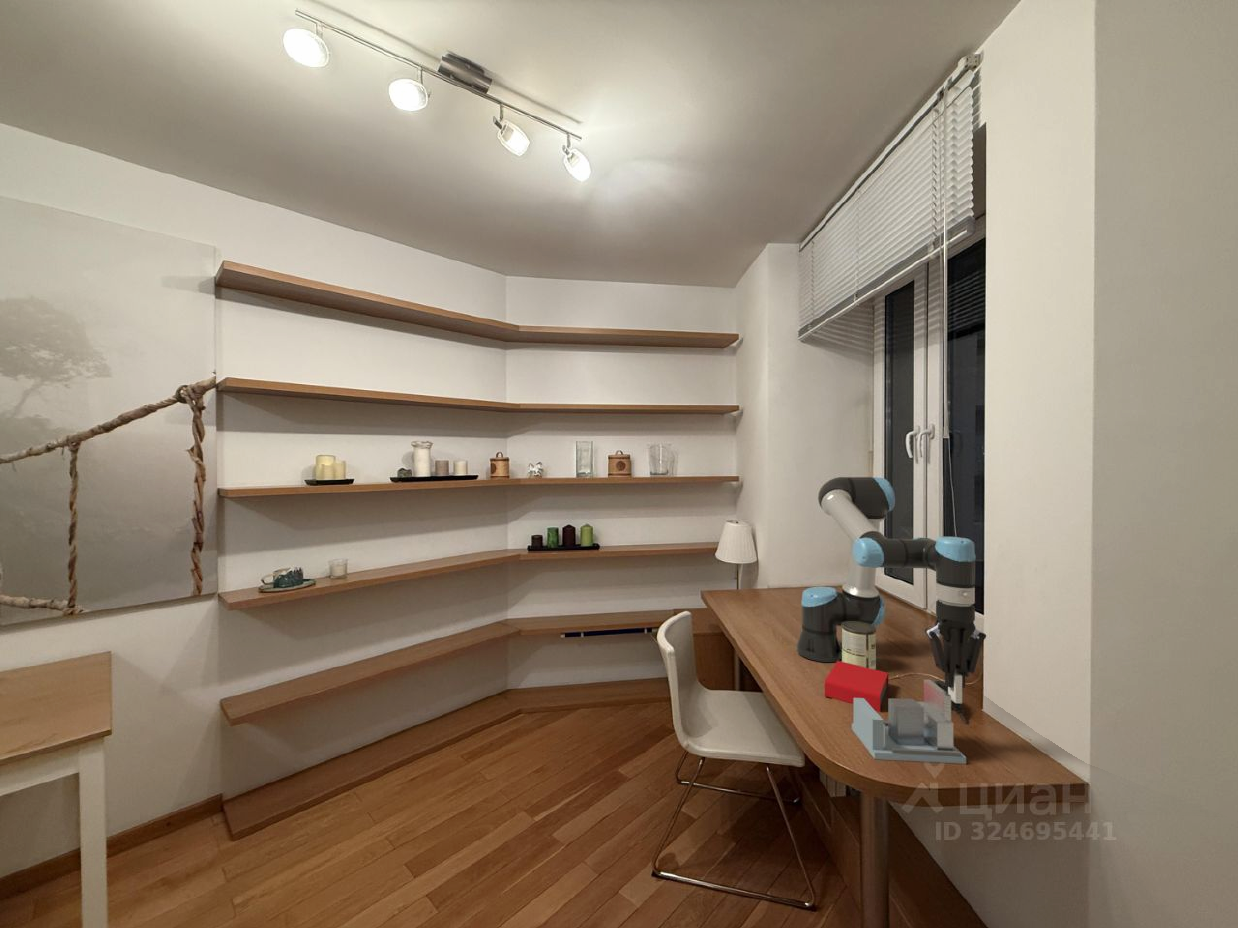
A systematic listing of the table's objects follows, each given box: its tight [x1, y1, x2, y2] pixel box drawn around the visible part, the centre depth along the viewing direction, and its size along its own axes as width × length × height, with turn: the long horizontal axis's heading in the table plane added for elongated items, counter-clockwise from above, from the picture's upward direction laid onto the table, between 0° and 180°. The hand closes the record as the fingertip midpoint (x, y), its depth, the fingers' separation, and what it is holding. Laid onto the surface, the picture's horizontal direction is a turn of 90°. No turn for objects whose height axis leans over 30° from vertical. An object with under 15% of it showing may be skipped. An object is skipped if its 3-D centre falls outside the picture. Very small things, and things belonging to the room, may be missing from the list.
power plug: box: [933, 680, 969, 725], centre depth 125 cm, size 6×8×12 cm
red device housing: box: [824, 660, 889, 713], centre depth 135 cm, size 18×14×5 cm
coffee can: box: [841, 621, 877, 670], centre depth 151 cm, size 10×10×14 cm
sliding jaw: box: [917, 678, 954, 751], centre depth 109 cm, size 10×4×12 cm, turn 176°
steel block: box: [887, 697, 924, 746], centre depth 109 cm, size 4×6×9 cm, turn 88°
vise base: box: [851, 698, 967, 765], centre depth 109 cm, size 12×20×8 cm, turn 86°
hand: (955, 700), depth 108 cm, fingers closed
